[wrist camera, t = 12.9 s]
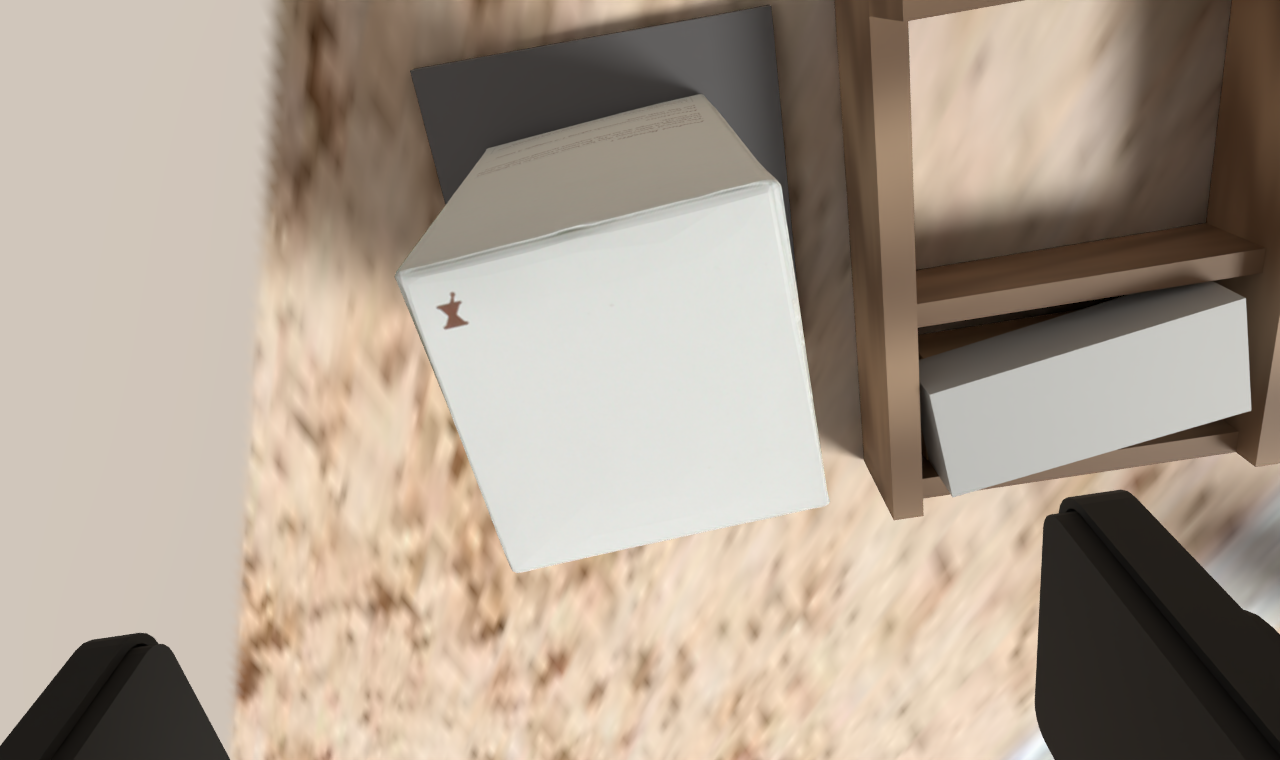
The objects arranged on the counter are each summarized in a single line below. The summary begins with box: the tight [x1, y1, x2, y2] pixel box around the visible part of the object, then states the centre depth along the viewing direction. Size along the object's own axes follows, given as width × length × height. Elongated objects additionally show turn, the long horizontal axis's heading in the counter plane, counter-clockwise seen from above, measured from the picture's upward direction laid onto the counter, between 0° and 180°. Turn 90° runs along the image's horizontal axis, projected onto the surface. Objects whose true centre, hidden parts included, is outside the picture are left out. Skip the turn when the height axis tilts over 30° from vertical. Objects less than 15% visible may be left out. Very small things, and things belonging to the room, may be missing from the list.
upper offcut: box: [919, 281, 1251, 497], centre depth 28 cm, size 4×10×2 cm, turn 109°
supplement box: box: [395, 94, 830, 573], centre depth 23 cm, size 7×7×13 cm
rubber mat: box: [410, 5, 798, 293], centre depth 28 cm, size 11×11×1 cm
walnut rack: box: [834, 0, 1280, 520], centre depth 26 cm, size 17×13×7 cm
